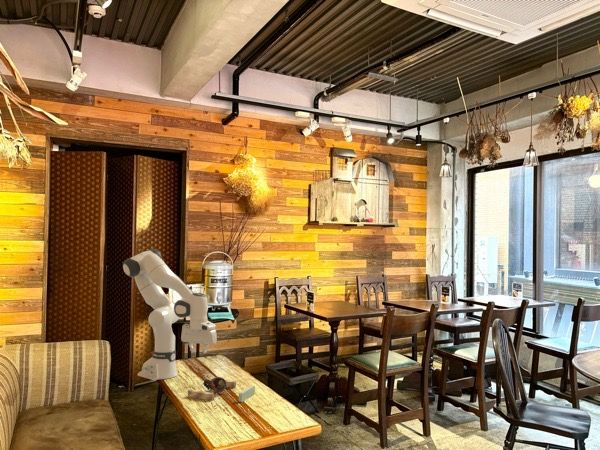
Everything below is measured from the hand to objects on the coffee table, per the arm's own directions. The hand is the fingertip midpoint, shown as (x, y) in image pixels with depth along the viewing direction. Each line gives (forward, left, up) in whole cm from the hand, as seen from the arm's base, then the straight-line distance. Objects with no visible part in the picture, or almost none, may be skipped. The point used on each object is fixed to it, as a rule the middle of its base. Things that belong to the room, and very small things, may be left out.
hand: (198, 351), depth 234 cm
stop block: (+29, 0, -19) cm, 35 cm away
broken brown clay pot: (+10, +1, -20) cm, 22 cm away
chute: (+9, 0, -19) cm, 21 cm away
